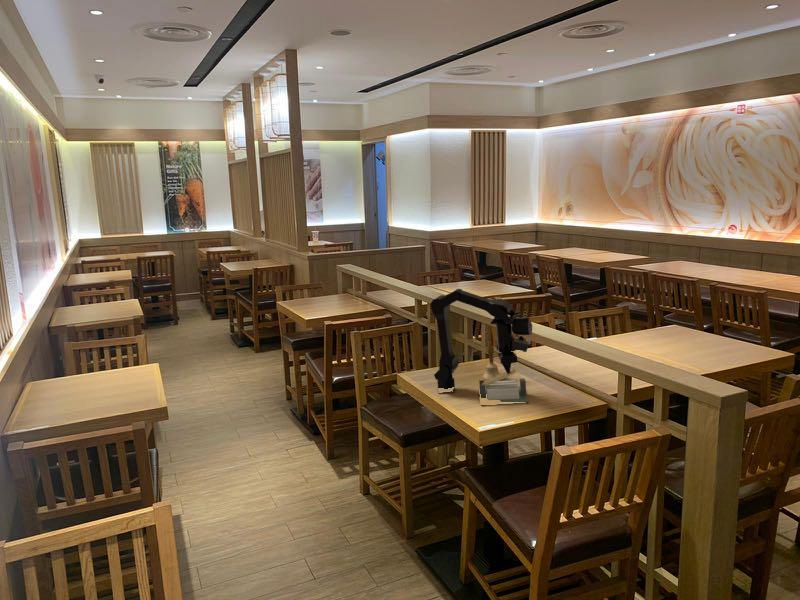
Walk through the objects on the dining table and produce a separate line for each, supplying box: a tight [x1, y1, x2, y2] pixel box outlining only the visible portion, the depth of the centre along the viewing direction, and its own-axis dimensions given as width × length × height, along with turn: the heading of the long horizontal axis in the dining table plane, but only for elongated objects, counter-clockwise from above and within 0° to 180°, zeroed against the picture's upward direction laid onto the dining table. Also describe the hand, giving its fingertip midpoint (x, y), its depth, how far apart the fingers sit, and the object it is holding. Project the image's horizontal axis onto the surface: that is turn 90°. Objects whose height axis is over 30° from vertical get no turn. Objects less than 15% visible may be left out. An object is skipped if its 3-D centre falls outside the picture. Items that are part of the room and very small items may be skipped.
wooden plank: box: [482, 367, 517, 388], centre depth 231 cm, size 14×3×1 cm, turn 84°
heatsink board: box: [478, 377, 529, 403], centre depth 232 cm, size 18×14×6 cm
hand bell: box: [482, 341, 501, 381], centre depth 251 cm, size 8×8×16 cm
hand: (508, 372), depth 230 cm, fingers closed, pressing on wooden plank
